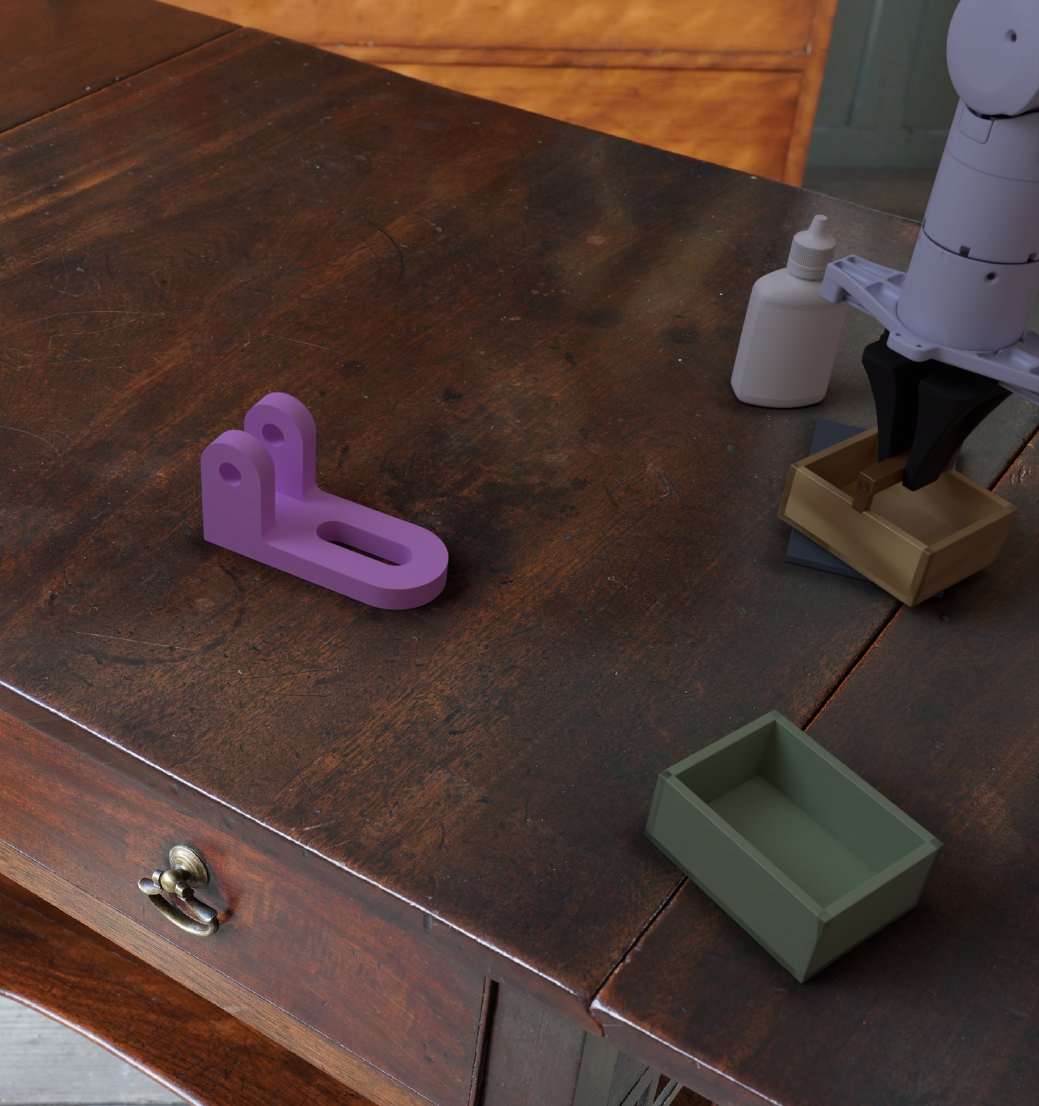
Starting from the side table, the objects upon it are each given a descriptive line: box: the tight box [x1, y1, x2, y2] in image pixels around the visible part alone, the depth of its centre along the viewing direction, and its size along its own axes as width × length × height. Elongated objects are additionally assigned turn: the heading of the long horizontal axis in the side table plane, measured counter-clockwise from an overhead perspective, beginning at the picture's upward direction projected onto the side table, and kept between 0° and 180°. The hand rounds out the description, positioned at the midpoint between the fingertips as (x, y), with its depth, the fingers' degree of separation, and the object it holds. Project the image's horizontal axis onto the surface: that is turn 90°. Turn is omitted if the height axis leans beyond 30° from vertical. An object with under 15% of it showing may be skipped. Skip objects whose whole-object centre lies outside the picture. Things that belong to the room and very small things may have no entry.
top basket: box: [776, 425, 1020, 608], centre depth 76 cm, size 9×7×6 cm
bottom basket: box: [643, 708, 945, 984], centre depth 61 cm, size 9×7×4 cm
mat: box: [784, 418, 958, 599], centre depth 82 cm, size 14×8×1 cm, turn 158°
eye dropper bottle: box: [730, 214, 851, 409], centre depth 87 cm, size 4×6×12 cm
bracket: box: [200, 391, 449, 611], centre depth 76 cm, size 13×6×7 cm, turn 59°
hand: (906, 474), depth 75 cm, fingers closed on top basket
